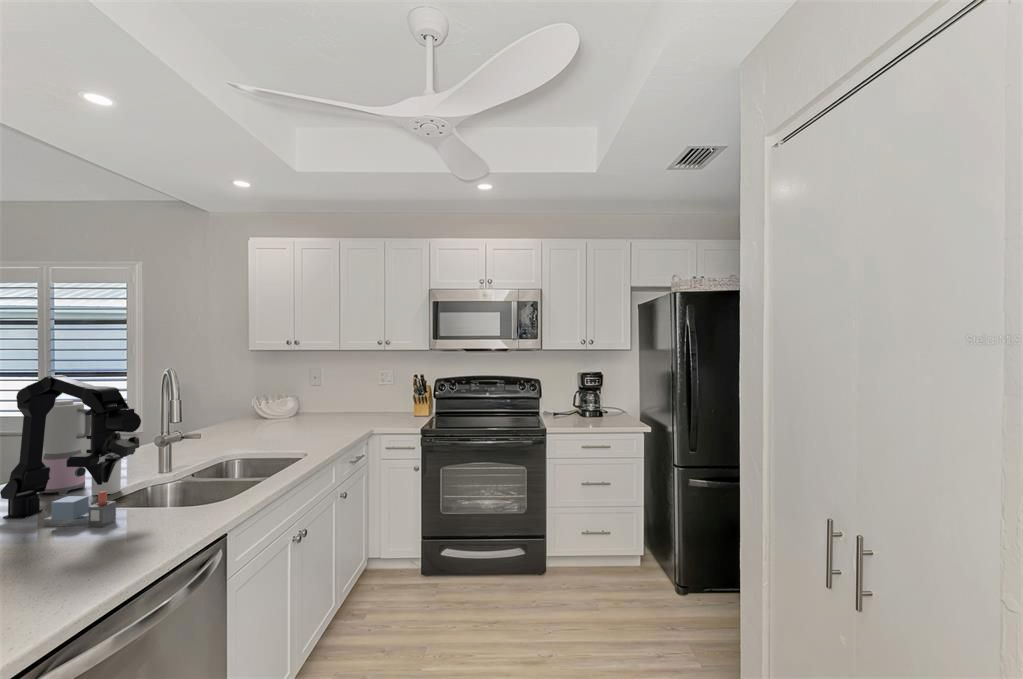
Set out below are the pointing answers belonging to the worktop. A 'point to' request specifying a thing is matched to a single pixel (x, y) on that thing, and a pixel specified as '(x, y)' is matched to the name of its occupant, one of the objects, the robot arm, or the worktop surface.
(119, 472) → the pill bottle
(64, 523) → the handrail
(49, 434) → the blender
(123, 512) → the worktop surface
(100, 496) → the gauge button
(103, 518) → the end cabinet
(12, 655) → the worktop surface
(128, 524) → the worktop surface
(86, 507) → the pale blue box
